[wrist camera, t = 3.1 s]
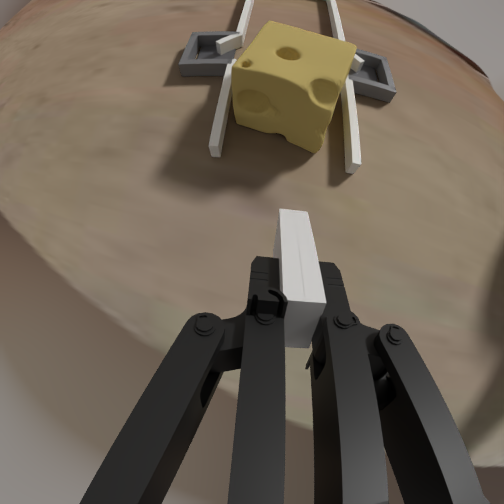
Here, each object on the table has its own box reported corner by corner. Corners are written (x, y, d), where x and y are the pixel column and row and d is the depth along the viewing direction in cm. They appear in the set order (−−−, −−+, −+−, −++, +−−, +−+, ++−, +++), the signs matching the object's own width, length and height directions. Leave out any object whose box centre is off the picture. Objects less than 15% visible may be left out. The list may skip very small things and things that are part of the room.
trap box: (360, 7, 35) (363, -1, 33) (401, 184, 29) (411, 176, 26) (220, -10, 36) (219, -19, 33) (157, 154, 29) (150, 144, 27)
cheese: (316, 157, 29) (341, 103, 19) (229, 124, 30) (222, 65, 20) (338, 98, 31) (360, 45, 21) (262, 71, 31) (265, 15, 21)
